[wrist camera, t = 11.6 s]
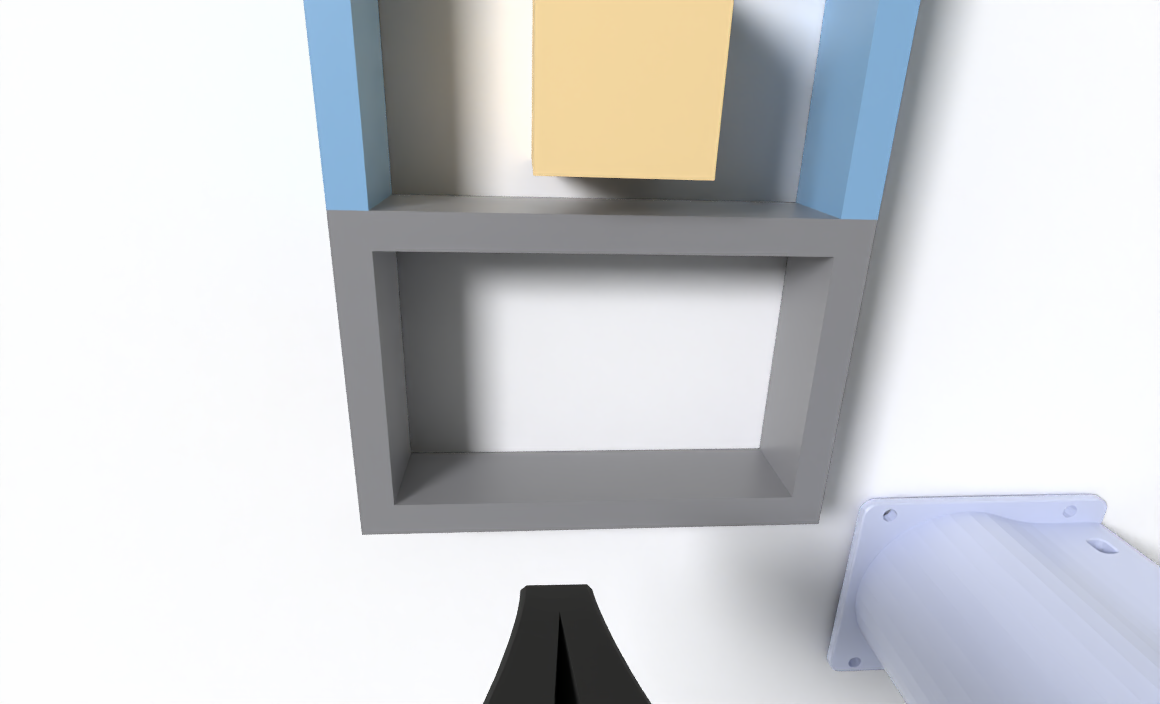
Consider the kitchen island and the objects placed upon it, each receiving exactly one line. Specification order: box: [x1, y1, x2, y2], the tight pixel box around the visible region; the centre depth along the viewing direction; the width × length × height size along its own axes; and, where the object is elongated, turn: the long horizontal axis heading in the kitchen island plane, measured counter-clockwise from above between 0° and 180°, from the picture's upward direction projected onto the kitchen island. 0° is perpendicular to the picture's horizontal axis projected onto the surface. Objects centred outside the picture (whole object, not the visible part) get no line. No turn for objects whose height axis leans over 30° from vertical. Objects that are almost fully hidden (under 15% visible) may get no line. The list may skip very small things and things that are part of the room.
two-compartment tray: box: [303, 0, 920, 535], centre depth 18 cm, size 14×18×3 cm
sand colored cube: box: [532, 0, 734, 181], centre depth 16 cm, size 4×5×5 cm
